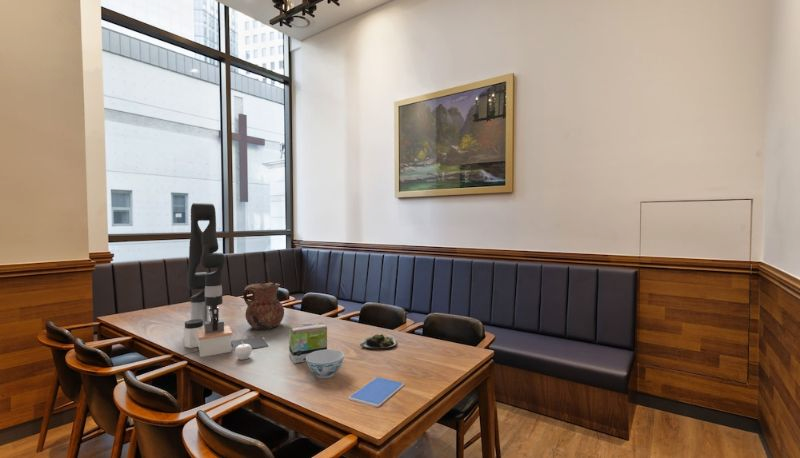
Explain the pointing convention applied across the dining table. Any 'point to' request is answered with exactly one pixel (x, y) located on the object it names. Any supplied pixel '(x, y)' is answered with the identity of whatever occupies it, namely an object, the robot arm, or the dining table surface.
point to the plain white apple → (243, 351)
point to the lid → (209, 332)
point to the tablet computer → (376, 391)
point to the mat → (251, 342)
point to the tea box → (306, 340)
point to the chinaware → (325, 362)
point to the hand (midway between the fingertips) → (214, 328)
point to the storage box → (215, 346)
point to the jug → (263, 306)
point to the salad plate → (378, 343)
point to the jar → (192, 332)
